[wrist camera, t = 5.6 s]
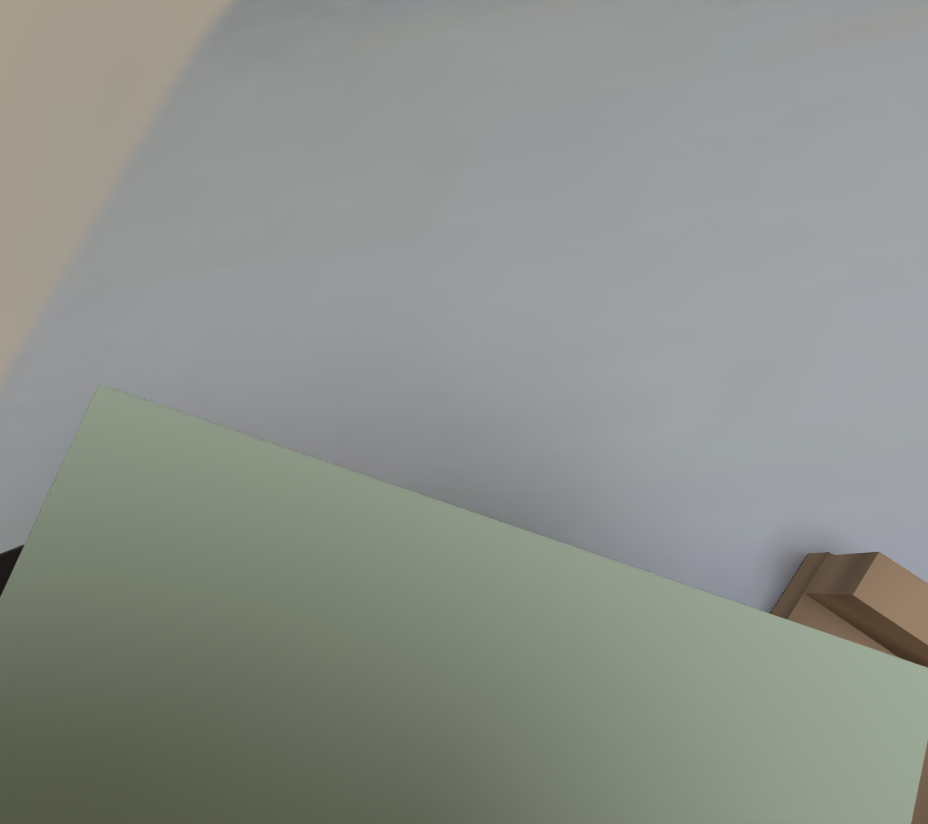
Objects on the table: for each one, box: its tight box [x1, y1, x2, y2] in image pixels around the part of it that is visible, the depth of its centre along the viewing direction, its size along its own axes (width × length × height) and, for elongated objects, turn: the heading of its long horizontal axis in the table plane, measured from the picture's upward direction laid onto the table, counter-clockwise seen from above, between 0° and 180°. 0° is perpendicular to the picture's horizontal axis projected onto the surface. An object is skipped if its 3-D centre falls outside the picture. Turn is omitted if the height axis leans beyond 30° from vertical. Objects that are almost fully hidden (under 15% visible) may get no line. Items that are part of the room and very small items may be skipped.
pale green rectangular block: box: [0, 384, 928, 824], centre depth 9 cm, size 3×5×11 cm, turn 71°
